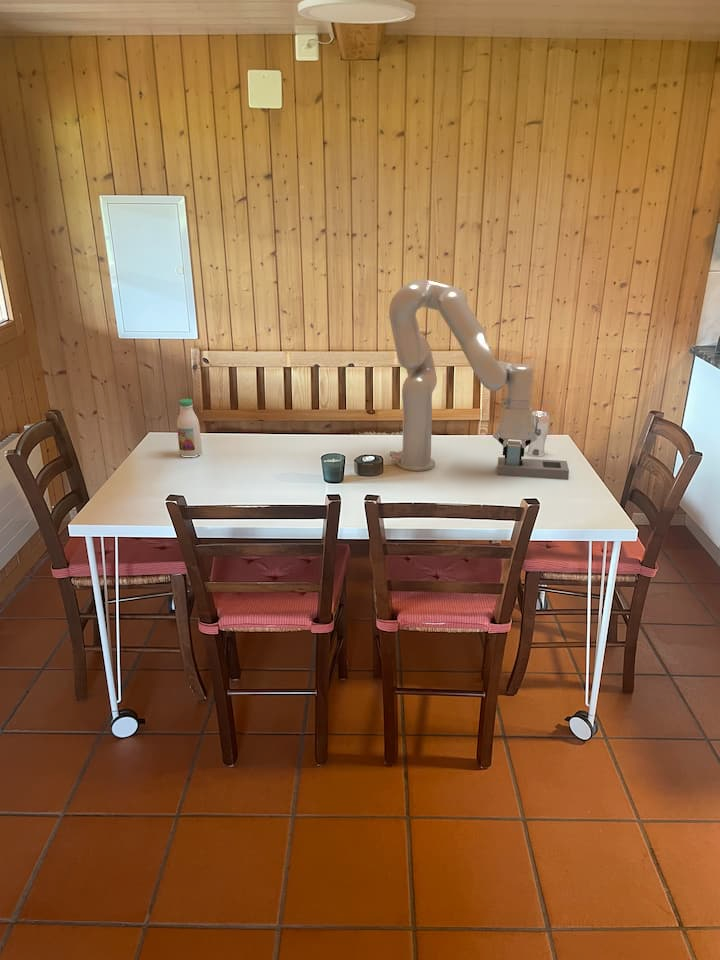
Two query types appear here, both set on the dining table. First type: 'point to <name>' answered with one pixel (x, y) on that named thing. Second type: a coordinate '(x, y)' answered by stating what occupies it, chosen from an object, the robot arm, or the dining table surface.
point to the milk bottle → (188, 430)
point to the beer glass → (539, 433)
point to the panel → (534, 468)
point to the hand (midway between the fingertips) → (512, 457)
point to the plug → (513, 453)
